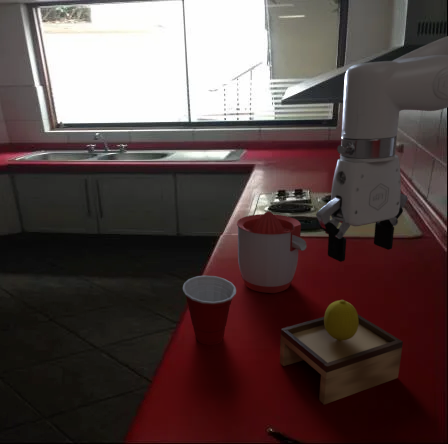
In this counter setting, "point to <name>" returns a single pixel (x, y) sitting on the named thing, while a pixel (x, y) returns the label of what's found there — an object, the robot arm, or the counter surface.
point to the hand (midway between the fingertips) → (359, 252)
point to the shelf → (343, 356)
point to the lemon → (341, 320)
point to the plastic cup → (209, 306)
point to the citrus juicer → (268, 251)
